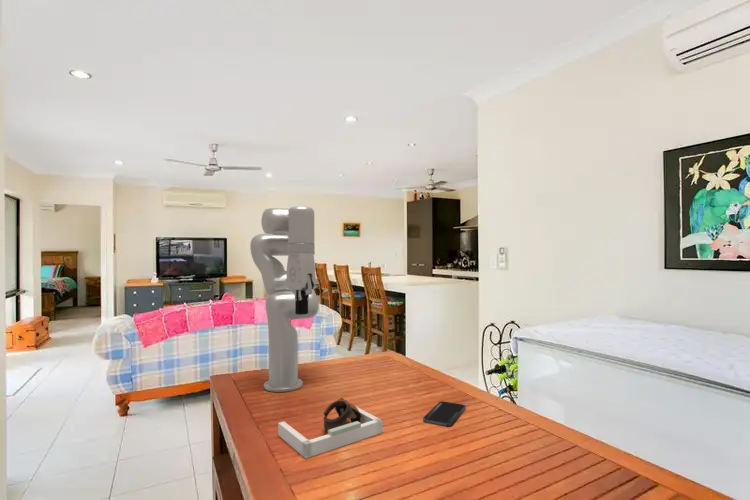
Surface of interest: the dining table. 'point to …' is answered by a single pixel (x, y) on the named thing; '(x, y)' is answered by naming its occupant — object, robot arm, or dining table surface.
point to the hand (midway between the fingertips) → (301, 313)
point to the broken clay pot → (341, 414)
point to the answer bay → (332, 435)
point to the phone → (444, 414)
